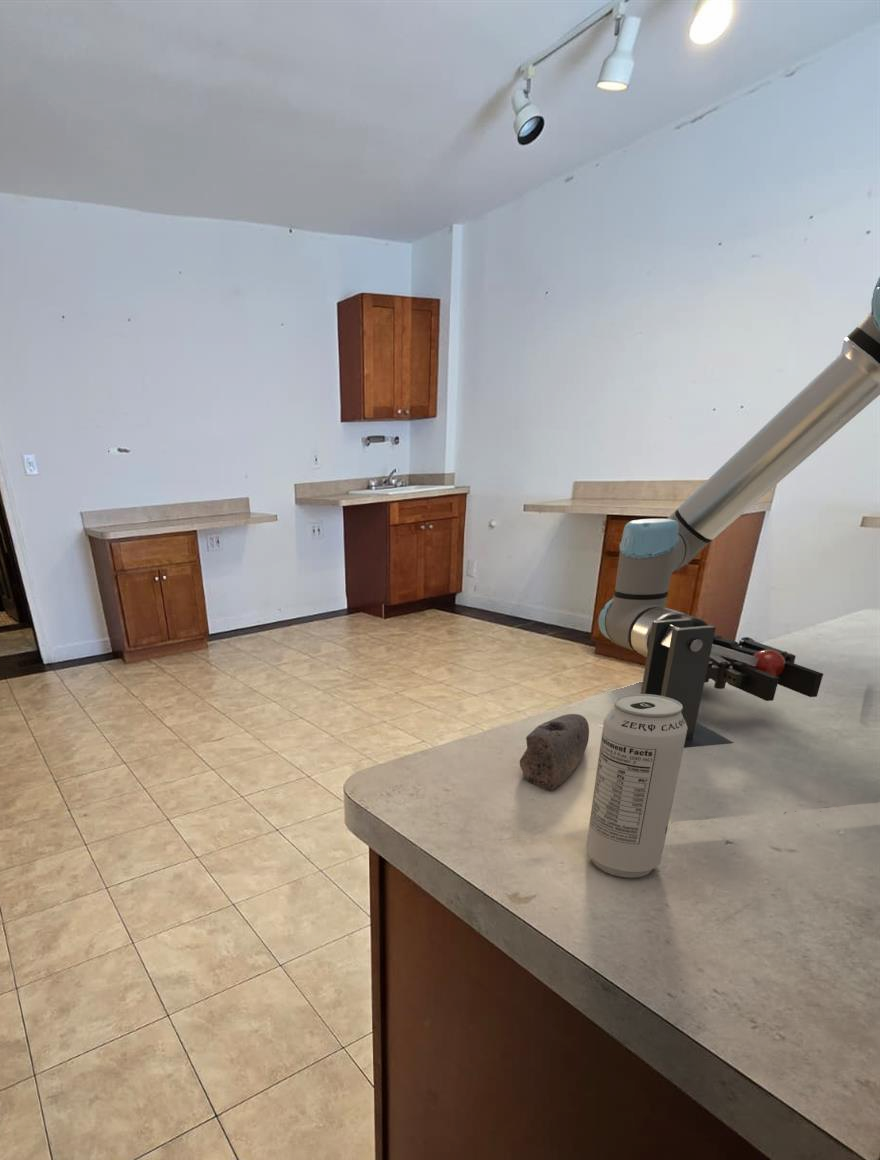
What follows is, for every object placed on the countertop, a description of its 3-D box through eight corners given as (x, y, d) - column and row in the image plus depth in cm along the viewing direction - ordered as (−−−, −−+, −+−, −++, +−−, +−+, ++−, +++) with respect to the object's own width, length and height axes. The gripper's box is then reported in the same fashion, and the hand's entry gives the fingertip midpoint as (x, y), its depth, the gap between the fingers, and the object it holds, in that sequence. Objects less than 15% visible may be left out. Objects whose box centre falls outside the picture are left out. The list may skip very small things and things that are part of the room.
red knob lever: (759, 678, 79) (775, 650, 77) (781, 687, 75) (798, 658, 74) (653, 647, 76) (668, 618, 75) (671, 655, 73) (687, 624, 71)
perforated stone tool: (558, 747, 80) (564, 695, 77) (602, 756, 77) (610, 702, 74) (506, 793, 70) (511, 735, 67) (554, 806, 67) (561, 745, 64)
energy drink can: (675, 872, 55) (710, 709, 49) (616, 887, 54) (645, 721, 47) (625, 838, 60) (650, 687, 54) (570, 851, 59) (590, 698, 53)
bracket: (685, 725, 84) (708, 612, 77) (732, 752, 75) (762, 628, 69) (596, 733, 83) (612, 620, 77) (633, 761, 75) (654, 637, 69)
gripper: (724, 659, 95) (859, 712, 73) (609, 668, 94) (712, 725, 73) (735, 608, 91) (880, 648, 70) (616, 618, 91) (726, 661, 70)
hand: (794, 687), depth 72 cm, fingers closed on red knob lever, 4 cm apart
